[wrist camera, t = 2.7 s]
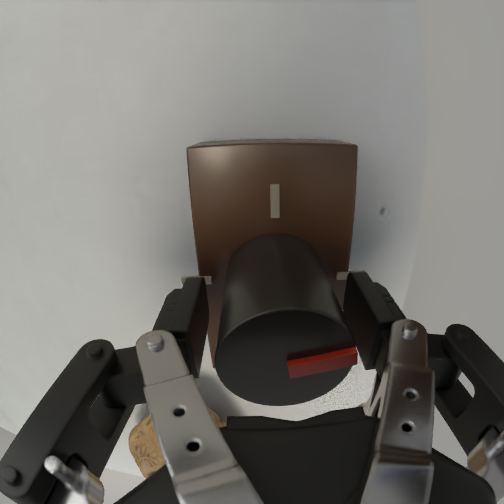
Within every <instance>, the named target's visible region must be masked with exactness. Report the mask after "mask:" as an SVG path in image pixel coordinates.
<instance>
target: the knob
mask: <svg viewBox="0 0 504 504" xmlns="http://www.w3.org/2000/svg"><path fill="white" fill-rule="evenodd" d="M357 354H358V352H357V350H356V345H355V341H354V337H353V335H352V332H351V330H350V327H349V325H348V323H347V320H346V318H345V315H344V313H343V311H342V308H341V306H340V304H339V301H338V299H337V297H336V294H335V292H334V290H333V288H332V285H331V283H330V281H329V279H328V276H327V274H326V272H325V270H324V267H323V265H322V263H321V261H320V259H319V257H318V255H317V253H316V252H315V251H314V249H313V248H312V247H311V246H310V245H308V244H307V243H306V242H304V241H303V240H301V239H299V238H296V237H294V236H290V235H286V234H267V235H263V236H259V237H257V238H254V239H252V240H250V241H249V242H247V243H246V244H244V245H243V246H242V247H241V248H240V249H238V250H237V252H236V253H235V254H234V256H233V257H232V259H231V261H230V263H229V266H228V270H227V276H226V282H225V289H224V295H223V302H222V308H221V315H220V322H219V329H218V336H217V343H216V350H215V359H214V363H215V369H216V372H217V375H218V377H219V378H220V380H221V382H222V383H223V384H224V386H225V387H226V388H228V389H229V390H230V391H231V392H232V393H234V394H235V395H237V396H239V397H240V398H243V399H245V400H247V401H250V402H253V403H257V404H262V405H269V406H287V405H295V404H300V403H304V402H307V401H310V400H313V399H316V398H318V397H320V396H322V395H324V394H326V393H327V392H329V391H331V390H332V389H333V388H335V387H336V386H337V385H338V384H339V383H340V382H342V380H343V379H344V378H345V377H346V376H347V374H348V373H349V371H350V370H351V367H352V366H353V365H357Z"/></svg>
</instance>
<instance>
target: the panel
mask: <svg viewBox="0 0 504 504" xmlns="http://www.w3.org/2000/svg"><path fill="white" fill-rule="evenodd" d="M357 150H358V147H357V145H355V144H351V143H347V142H342V141H338V140H316V139H256V140H230V141H213V142H200V143H197V144H195V145H192V146H189V147H187V163H188V176H189V188H190V199H191V209H192V219H193V228H194V238H195V246H196V255H197V263H198V271H199V276H190V277H204V278H205V281H206V289H207V297H208V305H209V324H208V329H207V334H208V340H209V346H210V352H211V358H212V364H213V368H215V363H214V359H215V350H216V343H217V336H218V329H219V322H220V315H221V308H222V302H223V295H224V289H225V282H226V276H227V270H228V266H229V263H230V261H231V259H232V257H233V256H234V254H235V253H236V252H237V250H238V249H240V248H241V247H242V246H243V245H244V244H246V243H247V242H249V241H250V240H252V239H254V238H257V237H259V236H263V235H267V234H286V235H290V236H294V237H296V238H299V239H301V240H303V241H304V242H306V243H307V244H308V245H310V246H311V247H312V248H313V249H314V251H315V252H316V253H317V255H318V257H319V259H320V261H321V263H322V265H323V267H324V270H325V272H326V274H327V276H328V279H329V281H330V283H331V285H332V288H333V290H334V292H335V294H336V297H337V299H338V301H339V304H340V306H341V308H342V311H343V301H344V295H345V288H346V280H347V275H348V273H349V272H365V271H348V268H349V260H350V252H351V242H352V232H353V221H354V209H355V194H356V177H357ZM186 278H187V277H182V284H183V285H184V282H185V280H186Z"/></svg>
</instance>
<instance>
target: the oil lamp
mask: <svg viewBox="0 0 504 504" xmlns="http://www.w3.org/2000/svg"><path fill="white" fill-rule="evenodd" d="M209 410H210V412H211V414H212V416H213V418H214V420H215V422H216V424H217V426H218V428H219V427H223V426H227V425H226V423H225V422H224V421H223V420H222V419H221V418H220V417H219V416H218V415H217V414H216V413H215V412H213V411H212V410H211V409H209ZM129 449H130V452H131V454H132V456H133V457H134V459H135V462H136V463H137V465H138V466H139V468H140V471H141V473H142V474H143V476H144V477H145V478H146V479H147V478H148V477H149V476H151V475H152V474H153V473H154V472H156V471H157V470H158V469H159V468H161V467H162V466H163V465H164V464H165V463H166V462H165V459H164V457H163V454H162V451H161V448H160V445H159V442H158V439H157V436H156V432H155V429H154V426H153V422H152V419H151V416H150V414H149V415H148V416H147V417H146V418H144V419H143V420H142V421H141V422H140V423H139V424H138V425H136V426H135V427H134V428H133V429H132V431H131V433H130V435H129Z"/></svg>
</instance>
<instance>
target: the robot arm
mask: <svg viewBox="0 0 504 504" xmlns="http://www.w3.org/2000/svg"><path fill="white" fill-rule="evenodd" d="M343 313H344V315H345V318H346V320H347V323H348V325H349V327H350V330H351V332H352V335H353V337H354V341H355V344H356V347H357V349H358V352H359V354H360V357H361V360H362V362H363V365H364V367H365V370H370V369H376V371H377V374H376V376H375V379H374V384H373V389H372V394H371V398H370V402H369V407H368V411H367V415H365V413H364V410H363V407H355V408H349V409H342V410H334V411H329V412H326V413H324V414H321V415H318V416H314V417H311V418H308V419H305V420H302V421H289V420H282V419H276V418H270V417H264V416H227V426H223V427H219V428H218V426H217V424H216V422H215V420H214V418H213V416H212V414H211V412H210V410H209V408H208V406H207V404H206V402H205V400H204V398H203V395H202V393H201V391H200V389H199V387H198V385H197V383H196V380H195V378H199V373H200V367H201V361H202V356H203V351H204V345H205V340H206V335H207V329H208V324H209V305H208V297H207V289H206V281H205V278H204V277H187V278H186V280H185V282H184V285H183V288H182V289H174V290H173V291H172V292H171V293H170V294H168V295H167V297H166V299H165V302H164V305H163V306H162V309H161V311H160V313H159V316H158V318H157V320H156V323H155V325H154V327H153V330H152V331H150V332H147V333H145V334H144V335H142V336H141V337H140V338H139V339H138V340H137V342H136V346H134V347H130V348H124V349H118V350H115V349H114V347H113V345H112V343H110V342H109V341H107V340H103V339H98V340H93V341H90V342H88V343H86V344H85V345H84V346H82V347H81V349H80V350H79V351H78V352H77V354H76V355H75V356H74V357H73V359H72V360H71V361H70V363H69V364H68V365H67V366H66V368H65V369H64V370H63V372H62V373H61V374H60V376H59V377H58V378H57V379H56V381H55V382H54V383H53V385H52V386H51V388H50V389H49V390H48V392H47V393H46V394H45V396H44V397H43V398H42V400H41V401H40V403H39V404H38V405H37V407H36V408H35V410H34V411H33V412H32V414H31V415H30V417H29V418H28V420H27V421H26V423H25V424H24V425H23V427H22V428H21V430H20V431H19V433H18V434H17V436H16V438H15V439H14V440H13V442H12V444H11V445H10V447H9V448H8V450H7V451H6V453H5V454H4V456H3V458H2V459H1V461H0V491H1V492H2V493H3V494H4V495H5V496H7V497H8V498H10V499H11V500H13V501H14V502H16V503H17V504H102V503H103V501H104V500H103V498H104V488H103V485H102V482H101V481H100V480H99V478H100V476H101V474H102V472H103V470H104V468H105V466H106V464H107V462H108V460H109V457H110V455H111V453H112V451H113V449H114V447H115V445H116V443H117V441H118V439H119V437H120V435H121V433H122V431H123V429H124V427H125V425H126V423H127V421H128V419H129V417H130V415H131V413H132V411H133V409H134V407H135V405H136V404H143V403H147V405H148V409H149V412H150V416H151V419H152V422H153V426H154V429H155V432H156V436H157V439H158V442H159V445H160V448H161V451H162V454H163V457H164V459H165V462H166V463H165V464H164V465H163V466H162V467H161V468H159V469H158V470H157V471H156V472H154V473H153V474H152V475H151V476H149V477H148V478H147V479H146V480H145V481H143V482H142V483H141V484H139V485H138V486H137V487H135V488H134V489H133V490H132V491H130V492H129V493H127V494H126V495H125V496H123V497H122V498H121V499H119V500H118V501H117V502H115V503H114V504H497V501H499V499H501V498H502V497H503V496H504V363H503V361H502V360H501V359H500V358H499V357H498V356H497V355H496V354H495V353H494V352H493V351H492V350H491V349H490V348H489V346H488V345H487V344H486V343H485V342H484V341H483V340H482V339H481V338H480V337H479V336H478V335H477V334H475V332H474V331H473V330H472V329H470V328H469V327H467V326H465V325H461V324H453V325H450V326H449V327H448V328H447V329H446V332H445V334H444V335H436V334H428V333H427V332H426V329H425V328H424V327H423V325H421V324H420V323H418V322H416V321H414V320H409V319H406V317H405V316H404V314H403V313H402V311H401V310H400V308H399V307H398V305H397V304H396V302H394V299H393V298H392V296H391V295H390V294H389V292H388V291H387V289H386V288H385V287H383V286H382V285H380V284H379V283H378V282H373V281H372V280H371V278H370V277H369V275H368V274H367V273H366V272H349V273H348V275H347V280H346V288H345V295H344V301H343ZM461 372H463V373H464V374H465V376H466V377H467V378H468V379H469V380H470V382H471V383H472V384H473V386H474V389H475V395H474V397H473V398H472V396H471V395H470V394H469V393H468V391H467V390H466V389H465V387H464V386H463V385H462V383H461V382H460V381H459V380H458V378H459V376H460V374H461ZM97 396H98V397H97ZM96 398H97V399H96ZM94 401H95V402H94ZM434 405H435V406H436V408H437V409H438V411H439V412H440V414H441V415H442V417H443V418H444V420H445V421H446V423H447V424H448V426H449V427H450V429H451V430H452V432H453V433H454V435H455V437H456V438H457V440H458V441H459V443H460V445H461V446H462V448H463V450H464V451H465V453H466V454H467V456H468V458H467V464H468V466H467V467H466V468H465V467H464V466H462V465H460V464H458V463H456V462H455V461H453V460H452V459H450V458H448V457H447V456H445V455H444V454H442V453H440V452H439V451H437V450H435V449H434V448H432V438H433V425H434ZM91 406H92V407H91Z"/></svg>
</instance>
